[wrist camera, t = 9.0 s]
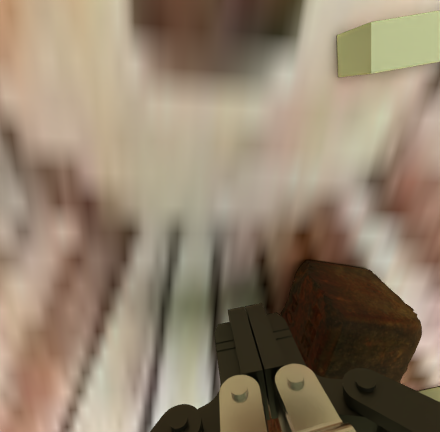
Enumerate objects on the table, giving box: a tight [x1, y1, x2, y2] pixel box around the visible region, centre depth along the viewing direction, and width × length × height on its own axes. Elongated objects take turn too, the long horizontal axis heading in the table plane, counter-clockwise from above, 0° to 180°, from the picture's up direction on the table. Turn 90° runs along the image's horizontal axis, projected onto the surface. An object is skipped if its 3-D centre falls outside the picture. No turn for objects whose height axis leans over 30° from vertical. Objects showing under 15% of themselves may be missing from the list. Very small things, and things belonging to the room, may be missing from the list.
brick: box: [267, 260, 422, 432], centre depth 16 cm, size 11×4×5 cm, turn 168°
